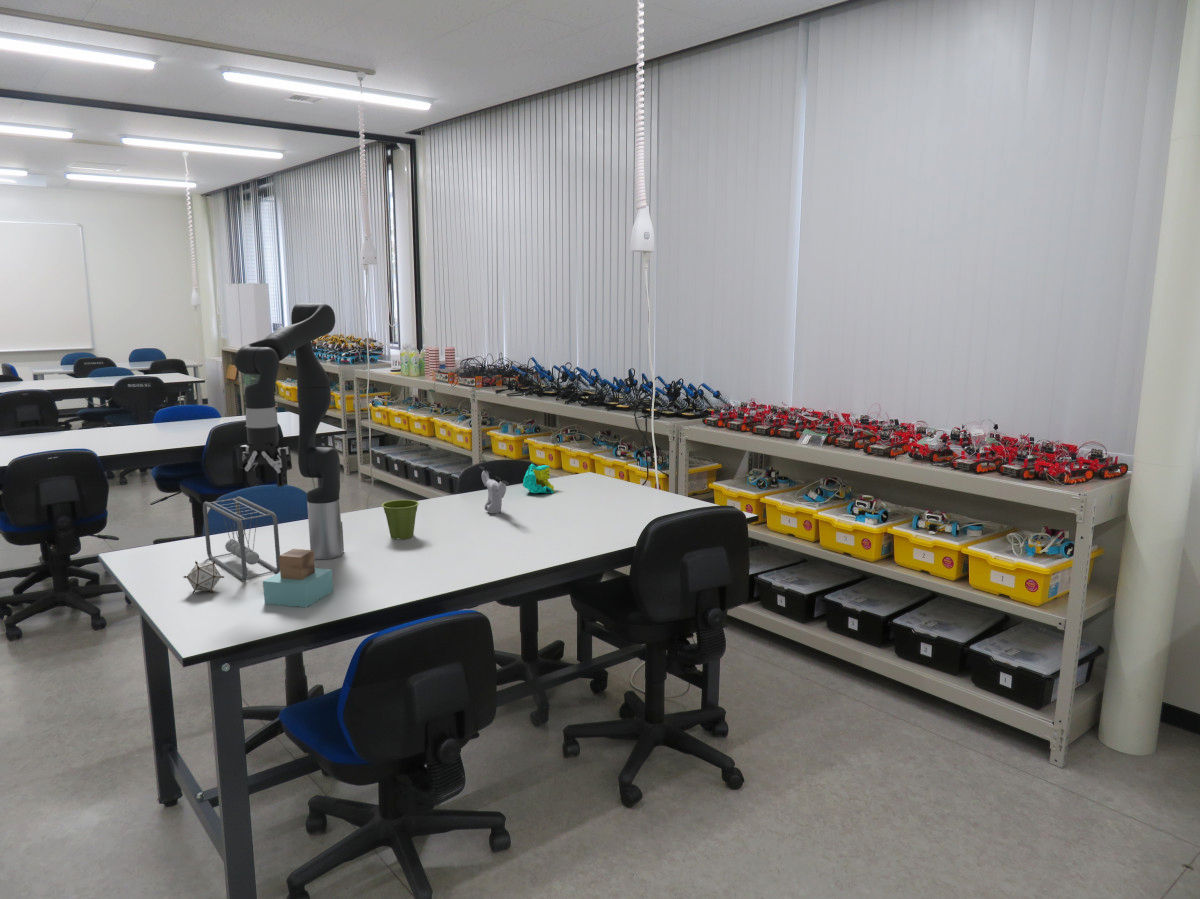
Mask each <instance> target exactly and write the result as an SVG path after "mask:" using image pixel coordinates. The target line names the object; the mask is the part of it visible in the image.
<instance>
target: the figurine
mask: <svg viewBox="0 0 1200 899" xmlns="http://www.w3.org/2000/svg"><path fill="white" fill-rule="evenodd" d="M478 467H479V469H480V470H482V472H481V480H482V483H483V486H484V487H486V488H487V501H486V502H485V504H484V510H485V511H486V512H488V514H491V513H497V514H500V513H501V511H502V507H503V506H502V501H503V498H504V497H505V494H506V492H507V486H509V485H510V483H509V482H508V481H506V480H504V478H503V477H501V478H500V477H498V476H496V475H495V478H496V479H498V480H499V482H498V481H496V480H495V479H494V478H490V475H489V474H491V471H489V470H487V468H486V467H484V466H483V465H479V466H478ZM499 512H500V513H499ZM491 515H492V514H491Z"/></svg>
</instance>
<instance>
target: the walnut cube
mask: <svg viewBox="0 0 1200 899" xmlns="http://www.w3.org/2000/svg"><path fill="white" fill-rule="evenodd" d="M279 562H280V572H279V573H280V575H281V578H285V579H296V580H302V579H304V578H306V577H308V576H310V575H311V574H313V573H315V568H316V567H315V566H316V565H315V559H314V550H310V549H303V548H301V549H300V548H292V549H290V550H287V551H286V552H283V553H282V554H281V553H280V555H279Z"/></svg>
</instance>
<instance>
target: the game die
mask: <svg viewBox="0 0 1200 899" xmlns="http://www.w3.org/2000/svg"><path fill="white" fill-rule="evenodd" d="M194 562H195V565H194V566H193V568H192V569H191V571H190V572H189V573H188V574H187V576H186V575H184V576H183V578H184V579H187V580H188V582H189V584H190V585H191V587H192V589H193V591H192V594H194V592H195V593H196V592H197V591H200V592H201V591H204V592H205V591H206V592H207V591H209V592H210V593H212V594H213V593H214V590H213V589H214V588H215V586H216V585H217V584H218V582H219V581H220V580H221V578H222V579H224V578H225V576H224V575H222V576H221V574H220V572H219V569H217V567H216V566H215V564H216V563H215V561H212V562H211V563H209V562H208V563H198V561H197V560H195V561H194Z"/></svg>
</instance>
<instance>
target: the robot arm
mask: <svg viewBox="0 0 1200 899" xmlns="http://www.w3.org/2000/svg"><path fill="white" fill-rule="evenodd" d="M290 317H291V318H290V320H291V324H290V325H286V326H283V327H281V328H278V329H275V331H273V332H271V333H270V334H268V335H267V336H265V338H263V339H260V340H257V341H254V342H251V343H248V344H246V345H244V346H242V347H240V348H239V349H238V350H237V351H236V353H235V356H234V362H233V363H234V365H235V368H236V369H237V371H239V373H241V374H243V375H251V376H252V375H253V376H256V375H259V378H258V381H257V382H256V383H250V384H249V385H246V387H245V389H244V399H245V400H244V401H245V425H246V436H247V437H246V439H247V443H248V444H244V445H243V444H242V445H240V446H238V447H237V450H238V454H237V456H238V468H239V469H240V470H241V469H243V470H245V472H246V480H247V483H248V485H249V486H255V485H256V484H257V473H256V467H257V466H258V465H259V464H267V465H268V464H269V465H270V466H271V468H273V469H274V471H276V473H275V474H276V486H277V487H278V488H281V487H284V486H285V484H286V483H287V480H286V479H287V477H286V476H287V474H286V472H287V471H290V470H292V468H293V463H292V456H291V448H290V447H289V446H286V447H285V446H284V447H280V446H279V440H280V437H279V435H280V434H279V425H278V424H279V423H278V414H277V410H276V398H275V395H276V394H275V388H276V383H277V379H278V374H279V369H280V362H281V361H283V360H284V359H285V358H287V357H288V356H289V355H291V354H292V353H293V352H295V361H296V363H295V364H296V365H295V366H296V387H297V388H296V390H297V392H296V393H297V403H298V404H297V405H298V406H297V408H298V429H299V430H298V451H297V452H298V453H297V454H298V455H297V456H298V458H297V464H298V465H297V466H298V469H299V473H300V474H301V475H302V477H303V478H308V479H310V478H311V479H322V484H321V485H320V486H318V487H315V488H312V489H310V490H308V491H307V492H306V503H307V504H306V505H307V518H308V533H309V547H310V548H309V550H314V560H331V559H334V558H339V557H340V556H342V555H343V554H344V553H343V552H344V551H345V549H344V547H345V546H344V530H343V529H344V528H343V527H344V526H343V522H342V518H341V517H342V516H341V503H340V502H341V501H340V489H341V460H340V454H339V452H338V450H337V449H336V448H334V447H332V446H331V447H328V446H324V447H323V446H316V436H317V431H318V428H319V426H320V425H321V422H322V421H323V419H324V417H325V416H326V414H327V413H328V410H329V408H330V406H331V403H332V402H331V401H332V393H331V392H332V391H331V381H330V378H329V375H328V373H327V371H326V370H325V369H324V367H323V365H322V364H321V362H320V361H319V360H318V358H317V357H316V356H317V355H316V354H315V352H314V348H313V343H312V341H314V340H317V339H319V338H322V337H323V336H326V335H327V336H328V334H330V333H331V332H333V330H334V329H335V326H336V315H335V312H334V309H333V308H332V307H331V306H330V305H329V304H326V303H323V302H321V303H320V302H308V303H307V302H298V303H296V304H294V305H293V308H292V309H291V316H290ZM249 454H250V455H251V456H250V457H249Z"/></svg>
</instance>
